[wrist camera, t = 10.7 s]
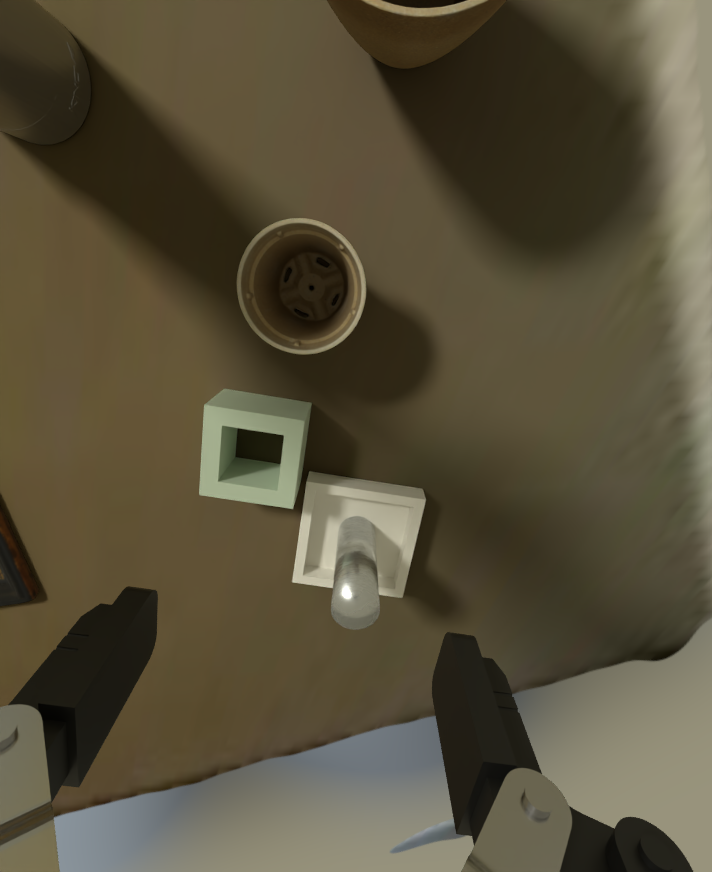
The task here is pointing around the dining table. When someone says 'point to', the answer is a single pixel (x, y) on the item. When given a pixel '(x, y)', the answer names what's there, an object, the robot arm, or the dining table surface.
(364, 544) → the pin
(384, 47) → the plant pot
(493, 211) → the dining table surface
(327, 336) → the flower pot
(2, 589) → the framed painting
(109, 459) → the dining table surface
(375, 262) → the dining table surface
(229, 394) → the block
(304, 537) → the tray
